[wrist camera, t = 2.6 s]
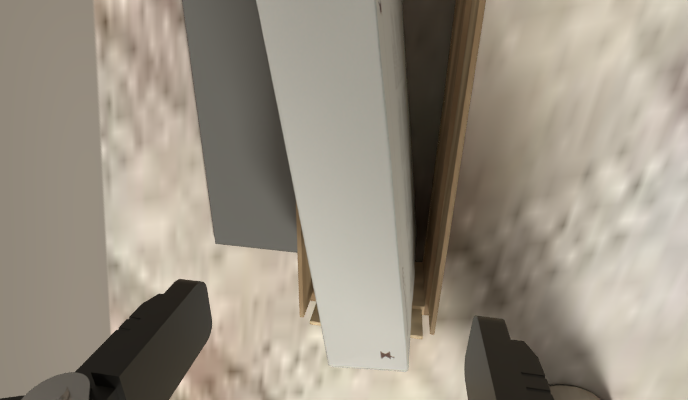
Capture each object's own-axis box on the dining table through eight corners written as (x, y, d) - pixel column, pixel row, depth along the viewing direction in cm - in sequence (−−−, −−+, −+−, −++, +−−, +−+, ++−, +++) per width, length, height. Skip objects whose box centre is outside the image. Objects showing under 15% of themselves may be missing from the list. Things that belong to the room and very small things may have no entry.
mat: (293, -41, 28) (291, -43, 27) (302, 249, 38) (300, 252, 38) (180, -41, 29) (176, -42, 29) (218, 240, 39) (215, 243, 39)
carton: (475, -61, 26) (506, -107, 17) (430, 270, 37) (435, 343, 28) (322, -59, 27) (281, -101, 19) (323, 258, 38) (297, 324, 30)
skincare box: (328, -4, 29) (244, -39, 14) (401, -16, 28) (388, -67, 13) (360, 239, 37) (326, 372, 22) (417, 237, 36) (420, 376, 21)
